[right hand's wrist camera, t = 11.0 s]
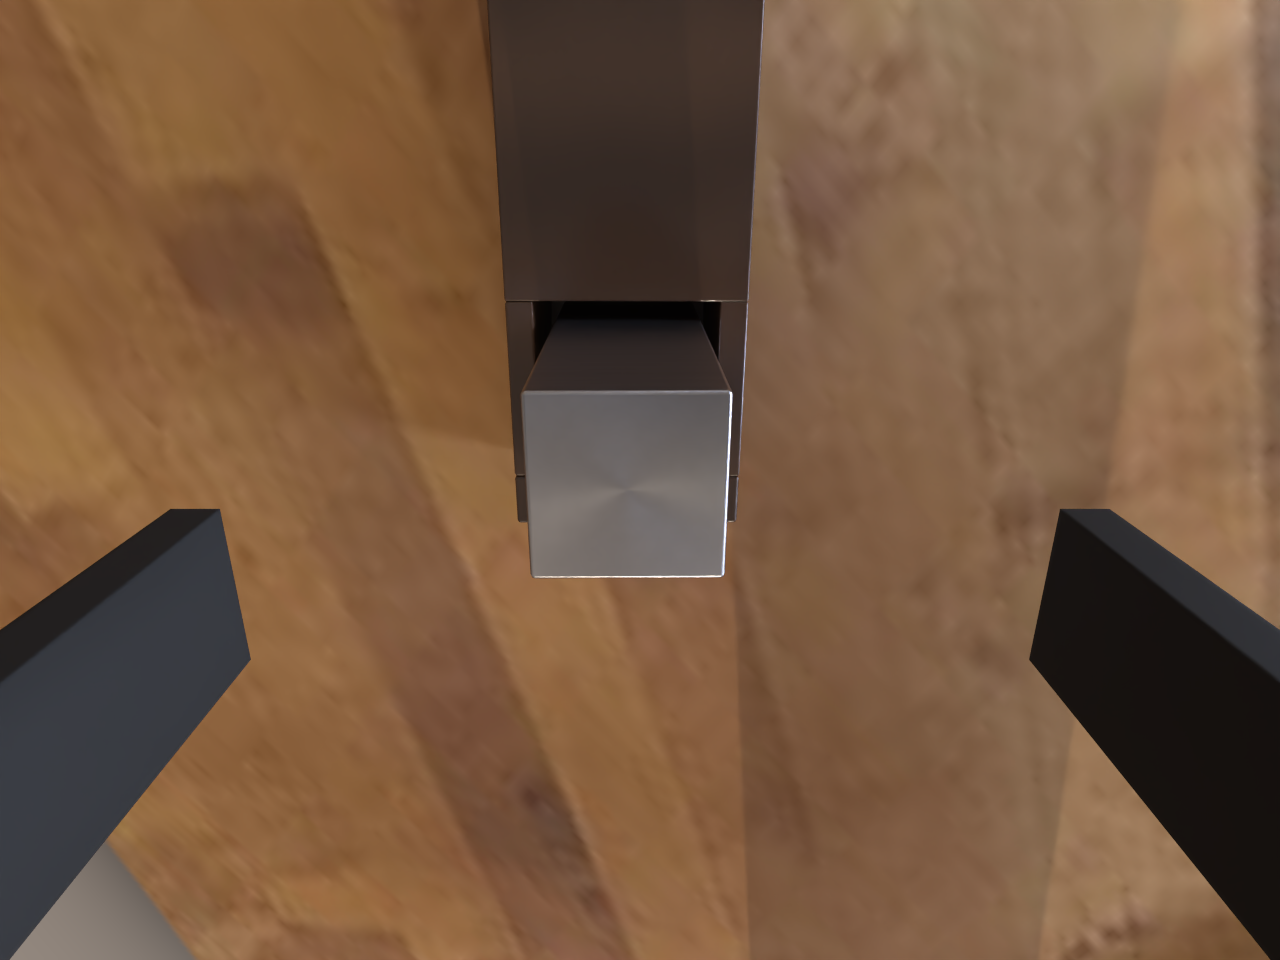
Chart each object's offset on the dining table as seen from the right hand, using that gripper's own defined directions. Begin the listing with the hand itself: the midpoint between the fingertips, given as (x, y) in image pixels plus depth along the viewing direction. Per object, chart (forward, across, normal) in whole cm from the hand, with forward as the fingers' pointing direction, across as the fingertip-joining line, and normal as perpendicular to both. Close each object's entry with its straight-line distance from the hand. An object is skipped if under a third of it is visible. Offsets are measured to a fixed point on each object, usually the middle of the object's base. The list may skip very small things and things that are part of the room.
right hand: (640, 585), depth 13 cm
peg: (+15, 0, 0) cm, 15 cm away
